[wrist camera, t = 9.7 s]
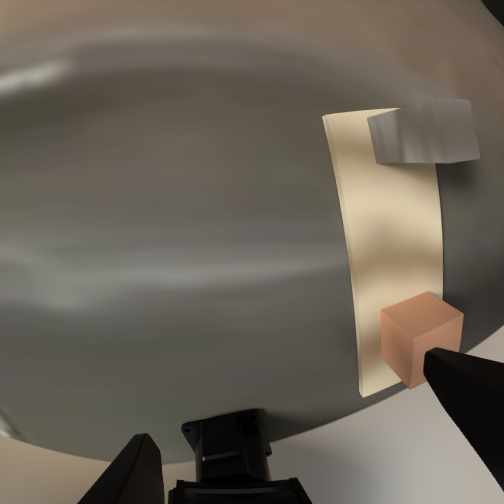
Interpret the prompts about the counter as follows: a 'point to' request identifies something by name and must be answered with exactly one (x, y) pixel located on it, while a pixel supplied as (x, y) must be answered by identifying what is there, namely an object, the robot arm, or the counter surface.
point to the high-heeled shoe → (496, 9)
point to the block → (417, 334)
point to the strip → (394, 209)
